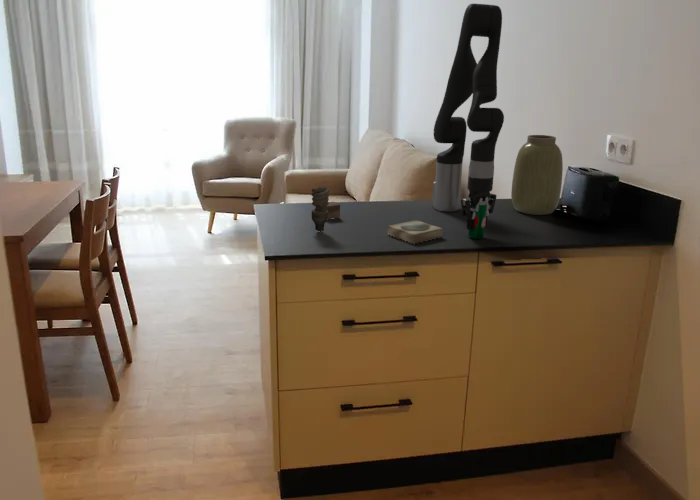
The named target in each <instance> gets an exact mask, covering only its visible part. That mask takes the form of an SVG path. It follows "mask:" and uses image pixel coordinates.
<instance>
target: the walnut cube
mask: <svg viewBox="0 0 700 500" xmlns="http://www.w3.org/2000/svg"><path fill="white" fill-rule="evenodd" d="M328 203H329V204H328V205H327V206H326V207H325V209H326V210H327V211H328V219H331V218H339V217H340V218H341V204H340V203H338V202H336V201H328Z"/></svg>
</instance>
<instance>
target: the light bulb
mask: <svg viewBox="0 0 700 500" xmlns="http://www.w3.org/2000/svg"><path fill="white" fill-rule="evenodd" d="M311 192H312V193H311V196H312V198H311V201H312V202H311V205H312V206H314V209H313V210H311V220H312V221H313V223H314V229H315V230H316V231H317V232H318V231H320V232H321V231H322V232H324V231H325V225H326V222H327V221H328V220H327V219H328V211H327V210H326V209H325V207H326V206H327V205H328V204H329V203H328V202H329V200H330V199H329V196H330V188H329V187H327V186H324V185H320V186H318V187H317V188H312V189H311ZM322 232H321V233H322Z"/></svg>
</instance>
